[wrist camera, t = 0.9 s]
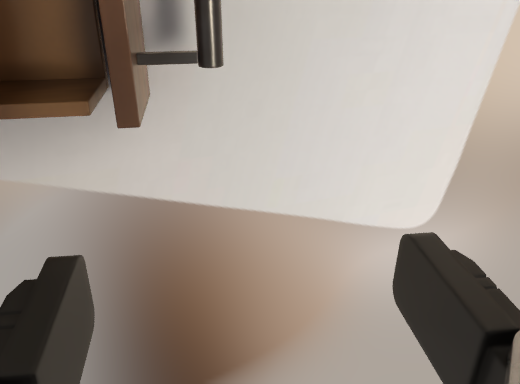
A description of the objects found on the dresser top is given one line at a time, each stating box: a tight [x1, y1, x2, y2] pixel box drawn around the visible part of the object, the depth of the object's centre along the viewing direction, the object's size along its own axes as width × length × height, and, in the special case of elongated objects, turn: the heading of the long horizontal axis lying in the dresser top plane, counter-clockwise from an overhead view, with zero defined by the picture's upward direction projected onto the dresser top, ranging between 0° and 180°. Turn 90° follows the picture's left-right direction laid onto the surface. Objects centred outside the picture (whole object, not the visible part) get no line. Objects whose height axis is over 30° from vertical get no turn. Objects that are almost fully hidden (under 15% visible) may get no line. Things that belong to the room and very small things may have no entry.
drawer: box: [0, 0, 223, 128], centre depth 25 cm, size 17×11×7 cm, turn 90°
